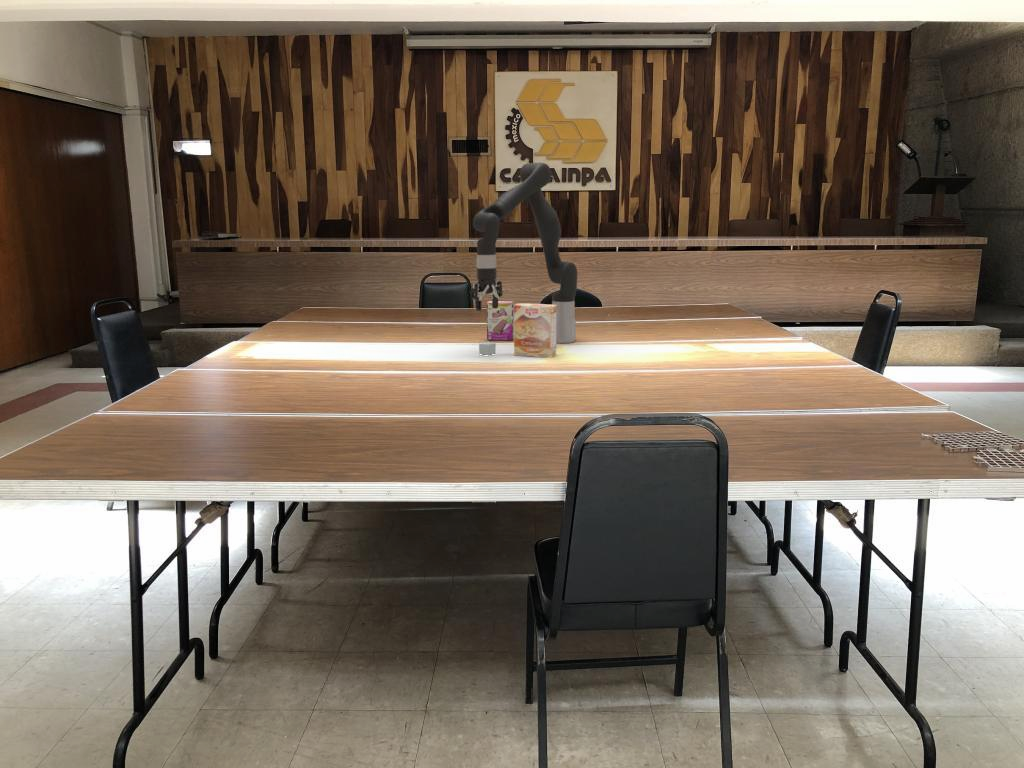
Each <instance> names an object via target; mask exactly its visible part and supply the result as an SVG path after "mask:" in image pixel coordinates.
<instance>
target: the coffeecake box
mask: <svg viewBox="0 0 1024 768" xmlns="http://www.w3.org/2000/svg"><path fill="white" fill-rule="evenodd" d="M513 344H514V345H513V350H514V352H513V353H514V354H515V355H514V354H513V355H514V356H520V355H527V356H526V357H534V356H541V357H540V358H547V357H551V356H552V357H554V356H556V355H557V343H556V305H552V304H545V303H526V302H525V303H524V302H522V303H516V304H515V303H514V340H513ZM552 357H551V358H552Z"/></svg>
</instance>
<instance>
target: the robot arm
mask: <svg viewBox="0 0 1024 768" xmlns="http://www.w3.org/2000/svg"><path fill="white" fill-rule="evenodd" d="M519 177H520V181H521V183H519V184H517V185H515V186H514V187H512V188H510V189H508V190H506V191H504V192H503V193H502V194H501V195H500V196H499V197H497V199H496V200H495V201H493V202H492V203H491V204H489V205H488V206H486V207H484V208H483V209H481V210H479V211H478V212H477V213H476V214H475V215H474V217H473V219H472V225H473V226H472V227H473V229H474V230H476V232H481V233H483V237H482V238H480V239H478V240H477V243H476V279H477V283H475V282H472V283H471V285H470V286H471V287H470V299H471V300H474V301H475V309H476V311H477V312H478V311H479V312H480V311H482V299H483V297H484V296H485V295H487V294H490V295H491V297H492V300H491V301H492V308H495V309H496V308H498V301H499V299H500V298H501V297H502V296H503V282H502V281H501V280H496V279H497V269H498V267H497V256H496V255H497V254H496V253H497V252H496V251H497V248H496V247H497V246H496V243H497V240H498V236H499V231H500V228H501V227H500V226H501V225H500V224H501V223H500V220H502V219H504V218H506V217H507V216H508V215H510V214H511V213H512V212H513V210H514V209H516V207H518V206H519V205H520V204H521V203H522V202H524V201H526V200H527V199H528V202H529V206H530V208H531V211H532V214H533V217H534V222H535V227H536V229H537V232H538V235H539V239H540V242H541V247H542V250H543V254H544V259H545V264H546V265H545V266H546V270H547V276H548V277H549V280H550V281H551V282H552V283H554V284H557V285H560V288H559V290H558V291H557V292H554V293H552V298H551V299H552V300H551V301H552V302H551V305H556V344H571V343H574V342H576V340H577V339H576V337H577V336H576V333H577V331H576V330H577V328H576V327H577V324H576V323H577V322H576V321H577V320H576V318H575V301H576V300H575V299H576V298H575V297H576V295H577V288H578V287H577V286H578V268H577V266H576V264H575V263H573V262H570V261H563V260H561V259H562V258H561V257H560V252H559V243H560V240H561V235H562V227H561V223H560V220H559V216H558V213H557V212H556V210H555V209H554V208H553V206H552V205H551V204H550V202H549V201H548V200H547V198H545V196H544V193H543V191H542V189H543V188H544V187H546V186H547V185H548V184H549V183H550V181H551V179H552V170H551V168H550V166H549V165H548V164H546V163H544V162H530V163H529V162H528V163H525V164H523V165H522V166H521V168H520V174H519Z"/></svg>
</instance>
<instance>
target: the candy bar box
mask: <svg viewBox="0 0 1024 768" xmlns="http://www.w3.org/2000/svg"><path fill="white" fill-rule="evenodd" d="M514 305H515V301H506V300H505V301H504V300H503V301H500V300H498V308H496V309H495V308H492V300H490V301H489V300H488V301H487V302H486V334H487V335H486V340H513V339H514ZM513 341H514V340H513Z"/></svg>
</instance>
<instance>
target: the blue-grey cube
mask: <svg viewBox="0 0 1024 768" xmlns="http://www.w3.org/2000/svg"><path fill="white" fill-rule="evenodd" d="M496 346H497V345H496V343H495V342H491V341H490V342H488V341H487V342H486V341H485V342H480V343H479V344H478V355H479V354H482V355H481V356H483V355H491V356H493V355H492V354H496V353H497V352H496V349H497V347H496ZM496 355H497V354H496Z"/></svg>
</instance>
